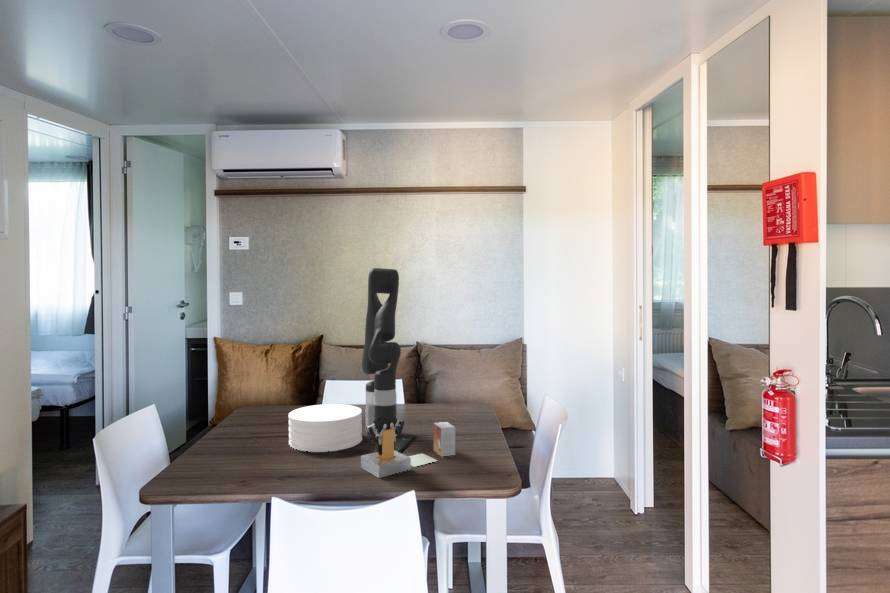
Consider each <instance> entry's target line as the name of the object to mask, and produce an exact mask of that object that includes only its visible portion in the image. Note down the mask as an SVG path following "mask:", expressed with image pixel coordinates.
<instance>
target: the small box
mask: <svg viewBox="0 0 890 593" xmlns="http://www.w3.org/2000/svg"><path fill="white" fill-rule="evenodd" d="M433 452H435V453H436V454H437V455H438V456H439V455H440V456H441V457H440V456H439V457H440V458H443V457H442V456H449V457H451V456H450V455H455V456H456V427H455V425H452V424H451V423H449V422H448V421H439V422H433Z"/></svg>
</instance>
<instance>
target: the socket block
mask: <svg viewBox="0 0 890 593" xmlns="http://www.w3.org/2000/svg"><path fill="white" fill-rule="evenodd" d="M408 456H409V455H406V454H403V453H401V452H400V453H399V452H397V451H395V450H394V458H392V459H388V460H383V461H382V460H380V459H378V456H377V453H376V452H372V453H368V454H367V453H366V454H363V455H360V468H361V469H362V470H365V471H367V472H368V473H370V474H371V475H373V476H375V477H377V478H378V479H379V478H385V477H388V476H391V475H392V474H393V475H395V473H397V474H400V473H403V471H404V472H407V470H408V471H411V470H412V466H411V458H410V457H408ZM399 472H400V473H399Z"/></svg>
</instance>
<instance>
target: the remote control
mask: <svg viewBox="0 0 890 593" xmlns="http://www.w3.org/2000/svg"><path fill="white" fill-rule="evenodd" d="M416 437H417V438H418V436H417V435H411V434H410V435H409V434H404V435H402V436H401V437H400V438H399V439H397V440H396V441H395V451H397V452H399V453H401V452H402V450H403V449H404V448H405V447H406V446H407V447H408V446H409V445H410V444H412V442H414V439H415V438H416ZM417 438H416V439H417ZM416 439H415V440H416ZM407 447H406V448H407ZM406 448H405V449H406ZM405 449H404V450H405ZM404 450H403V451H404Z"/></svg>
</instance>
